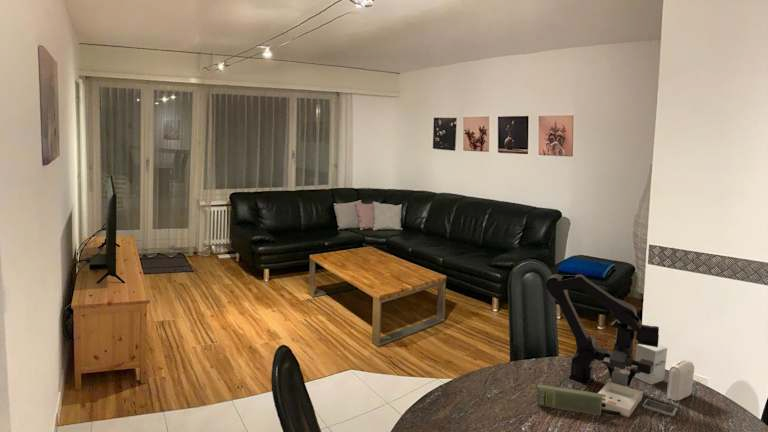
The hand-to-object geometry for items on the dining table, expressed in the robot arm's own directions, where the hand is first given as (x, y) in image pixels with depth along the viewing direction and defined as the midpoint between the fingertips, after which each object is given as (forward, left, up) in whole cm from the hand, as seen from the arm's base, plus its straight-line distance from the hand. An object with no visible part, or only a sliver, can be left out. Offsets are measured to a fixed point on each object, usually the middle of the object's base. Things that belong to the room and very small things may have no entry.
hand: (620, 383), depth 180 cm
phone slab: (+14, -8, -1) cm, 16 cm away
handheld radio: (-6, -26, -2) cm, 27 cm away
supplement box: (+6, +13, -2) cm, 15 cm away
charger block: (0, 0, -1) cm, 1 cm away
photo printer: (+17, +6, -2) cm, 18 cm away
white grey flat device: (+3, -12, -1) cm, 12 cm away
